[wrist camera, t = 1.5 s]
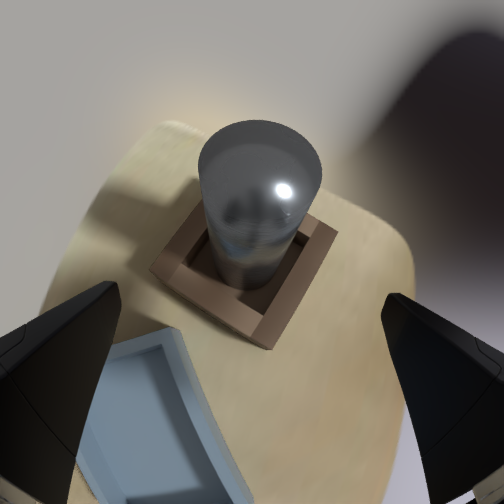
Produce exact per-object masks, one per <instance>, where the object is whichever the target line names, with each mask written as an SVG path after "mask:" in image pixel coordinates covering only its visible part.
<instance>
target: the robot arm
mask: <svg viewBox="0 0 504 504" xmlns="http://www.w3.org/2000/svg"><path fill="white" fill-rule="evenodd" d="M120 312H121V298H120V294H119V289H118V285H117V283H116V282H115V281H103V282H101V283H99V284H97V285H95V286H94V287H92V288H90V289H88V290H86V291H84V292H82V293H80V294H78V295H77V296H75V297H73V298H71V299H69V300H67V301H65V302H64V303H62V304H60V305H58V306H56V307H54V308H53V309H51V310H49V311H47V312H45V313H44V314H42V315H40V316H38V317H36V318H35V319H33V320H31V321H29V322H28V323H27V324H24V325H22V326H21V327H19V328H17V329H15V330H13V331H12V332H10V333H8V334H6V335H4V336H2V337H1V338H0V504H36V501H38V502H40V503H42V504H67V499H68V494H69V489H70V484H71V479H72V475H73V470H74V466H75V462H76V458H75V457H77V453H78V449H79V445H80V441H81V437H82V434H83V430H84V427H85V423H86V420H87V416H88V413H89V410H90V407H91V403H92V400H93V397H94V394H95V391H96V388H97V385H98V382H99V379H100V376H101V373H102V371H103V368H104V365H105V362H106V359H107V357H108V354H109V351H110V348H111V345H112V342H113V338H114V334H115V330H116V326H117V322H118V319H119V315H120ZM381 321H382V325H383V328H384V332H385V336H386V340H387V344H388V348H389V352H390V355H391V358H392V361H393V364H394V367H395V370H396V373H397V376H398V379H399V382H400V385H401V388H402V391H403V394H404V398H405V401H406V404H407V407H408V411H409V414H410V418H411V421H412V425H413V428H414V432H415V436H416V439H417V443H418V447H419V451H420V455H421V460H422V464H423V469H424V473H425V478H426V483H427V488H428V493H429V498H430V504H446V503H448V502H450V501H452V500H454V499H456V498H458V497H460V496H462V495H463V494H465V493H467V492H469V491H470V490H473V493H474V495H475V498H474V499H473V500H471V501H469V502H468V503H466V504H504V353H502V352H500V351H499V350H496V349H495V348H493V347H491V346H490V345H488V344H486V343H485V342H483V341H481V340H480V339H478V338H476V337H474V336H473V335H471V334H470V333H468V332H466V331H465V330H463V329H461V328H460V327H458V326H456V325H455V324H453V323H451V322H450V321H448V320H446V319H444V318H443V317H441V316H439V315H438V314H436V313H434V312H432V311H431V310H429V309H427V308H425V307H424V306H422V305H420V304H419V303H417V302H415V301H413V300H411V299H410V298H408V297H406V296H404V295H403V294H401V293H390V294H388V296H387V298H386V301H385V303H384V306H383V309H382V312H381Z"/></svg>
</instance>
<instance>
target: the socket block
mask: <svg viewBox="0 0 504 504" xmlns="http://www.w3.org/2000/svg"><path fill="white" fill-rule="evenodd" d="M337 233H338V231H336V230H334V229H333V228H331V227H330V226H328V225H326V224H325V223H323V222H321V221H320V220H318V219H316V218H315V217H313V216H311V215H310V214H308V213H306V215H305V217H304V219H303V221H302V223H301V225H300V227H299V229H298V230H297V232H296V234H295V236H294V238H293V240H292V242H291V244H290V245H289V247H288V249H287V251H286V253H285V255H284V257H283V259H282V260H281V262H280V264H279V266H278V268H277V270H276V271H275V273H274V275H273V277H272V278H271V280H270V281H269V282H268V283H266V284H265V285H264V286H262V287H260V288H258V289H255V290H250V291H243V290H237V289H234V288H232V287H230V286H228V285H227V284H225V283H224V282H223V281H222V280H221V278H220V277H219V276H218V274H217V272H216V269H215V266H214V260H213V255H212V249H211V244H210V238H209V233H208V227H207V221H206V216H205V210H204V204H203V199H202V200H201V201H200V203H199V204H198V205H197V206H196V208H195V209H194V210H193V211H192V213H191V214H190V215H189V217H188V218H187V219H186V220H185V222H184V223H183V224H182V226H181V227H180V228H179V230H178V231H177V232H176V234H175V235H174V236H173V238H172V239H171V240H170V242H169V243H168V244H167V246H166V247H165V248H164V250H163V251H162V252H161V254H160V255H159V256H158V258H157V259H156V261H155V262H154V263H153V265H152V266H151V268H150V269H149V270H150V271H151V272H152V274H153V275H154V276H155V277H156V278H157V279H158V280H159V281H161V282H162V283H163V284H165V285H166V286H168V287H169V288H170V289H172V290H173V291H175V292H176V293H178V294H179V295H181V296H182V297H183V298H185V299H186V300H188V301H189V302H191V303H192V304H194V305H195V306H197V307H198V308H200V309H201V310H203V311H204V312H206V313H207V314H209V315H210V316H212V317H214V318H215V319H217V320H218V321H220V322H221V323H223V324H224V325H226V326H228V327H229V328H231V329H232V330H234V331H236V332H237V333H239V334H240V335H242V336H244V337H245V338H247V339H249V340H250V341H252V342H254V343H255V344H257V345H258V346H260V347H262V348H264V349H265V350H272V349H273V347H274V346H275V344H276V342H277V341H278V339H279V337H280V336H281V334H282V332H283V331H284V329H285V327H286V326H287V324H288V322H289V321H290V319H291V317H292V316H293V314H294V312H295V310H296V309H297V307H298V305H299V303H300V302H301V300H302V298H303V296H304V295H305V293H306V291H307V289H308V288H309V286H310V284H311V282H312V280H313V279H314V277H315V275H316V273H317V271H318V269H319V268H320V266H321V264H322V262H323V260H324V258H325V256H326V255H327V253H328V251H329V249H330V247H331V245H332V243H333V241H334V239H335V237H336V235H337Z"/></svg>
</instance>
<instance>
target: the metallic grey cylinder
mask: <svg viewBox="0 0 504 504" xmlns="http://www.w3.org/2000/svg"><path fill="white" fill-rule="evenodd" d="M198 172H199V179H200V185H201V192H202V198H203V204H204V210H205V216H206V221H207V227H208V233H209V238H210V244H211V249H212V255H213V260H214V266H215V269H216V272H217V274H218V276H219V277H220V278H221V280H222V281H223V282H224V283H225V284H227V285H228V286H230V287H232V288H234V289H237V290H243V291H250V290H255V289H258V288H260V287H262V286H264V285H265V284H266V283H268V282H269V281H270V280H271V278H272V277H273V275H274V273H275V271H276V270H277V268H278V266H279V264H280V262H281V260H282V259H283V257H284V255H285V253H286V251H287V249H288V247H289V245H290V244H291V242H292V240H293V238H294V236H295V234H296V232H297V230H298V229H299V227H300V225H301V223H302V221H303V219H304V217H305V215H306V213H307V211H308V209H309V207H310V206H311V204H312V202H313V200H314V198H315V196H316V194H317V192H318V190H319V188H320V184H321V180H322V167H321V163H320V160H319V157H318V155H317V153H316V151H315V150H314V148H313V147H312V145H311V144H310V143H309V142H308V141H307V140H306V139H305V138H304V137H303V136H302V135H301V134H299V133H298V132H296V131H295V130H293V129H291V128H289V127H287V126H284V125H282V124H279V123H275V122H271V121H264V120H247V121H241V122H237V123H233V124H231V125H228V126H226V127H224V128H222V129H220V130H219V131H218V132H216V133H215V134H214V135H213V136H211V137H210V138H209V140H208V141H207V142H206V143H205V145H204V147H203V148H202V151H201V153H200V156H199V160H198Z"/></svg>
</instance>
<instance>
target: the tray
mask: <svg viewBox="0 0 504 504" xmlns="http://www.w3.org/2000/svg"><path fill="white" fill-rule="evenodd" d="M75 458H76V462H77V464H78V466H79V468H80V470H81V472H82V473H83V475H84V477H85V479H86V481H87V483H88V485H89V486H90V488H91V490H92V492H93V493H94V495H95V497H96V498H97V500H98V502H99V503H100V504H254V498H253V495H252V493H251V492H250V490H249V488H248V486H247V484H246V482H245V480H244V479H243V477H242V475H241V473H240V471H239V469H238V467H237V465H236V463H235V461H234V459H233V457H232V455H231V453H230V451H229V449H228V447H227V444H226V442H225V440H224V438H223V436H222V434H221V432H220V429H219V427H218V425H217V423H216V421H215V418H214V416H213V414H212V411H211V409H210V407H209V404H208V402H207V400H206V397H205V395H204V393H203V390H202V388H201V385H200V383H199V380H198V378H197V375H196V373H195V370H194V367H193V365H192V362H191V359H190V357H189V354H188V351H187V349H186V346H185V343H184V340H183V338H182V335H181V332H180V330H177V329H175V328H172V327H167V328H164V329H161V330H158V331H155V332H152V333H149V334H146V335H142V336H139V337H136V338H133V339H130V340H127V341H123V342H120V343H117V344H114V345H111V348H110V351H109V354H108V357H107V359H106V362H105V365H104V368H103V371H102V373H101V376H100V379H99V382H98V385H97V388H96V391H95V394H94V397H93V400H92V403H91V407H90V410H89V413H88V416H87V420H86V423H85V427H84V430H83V434H82V437H81V441H80V445H79V449H78V453H77V457H75Z"/></svg>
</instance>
